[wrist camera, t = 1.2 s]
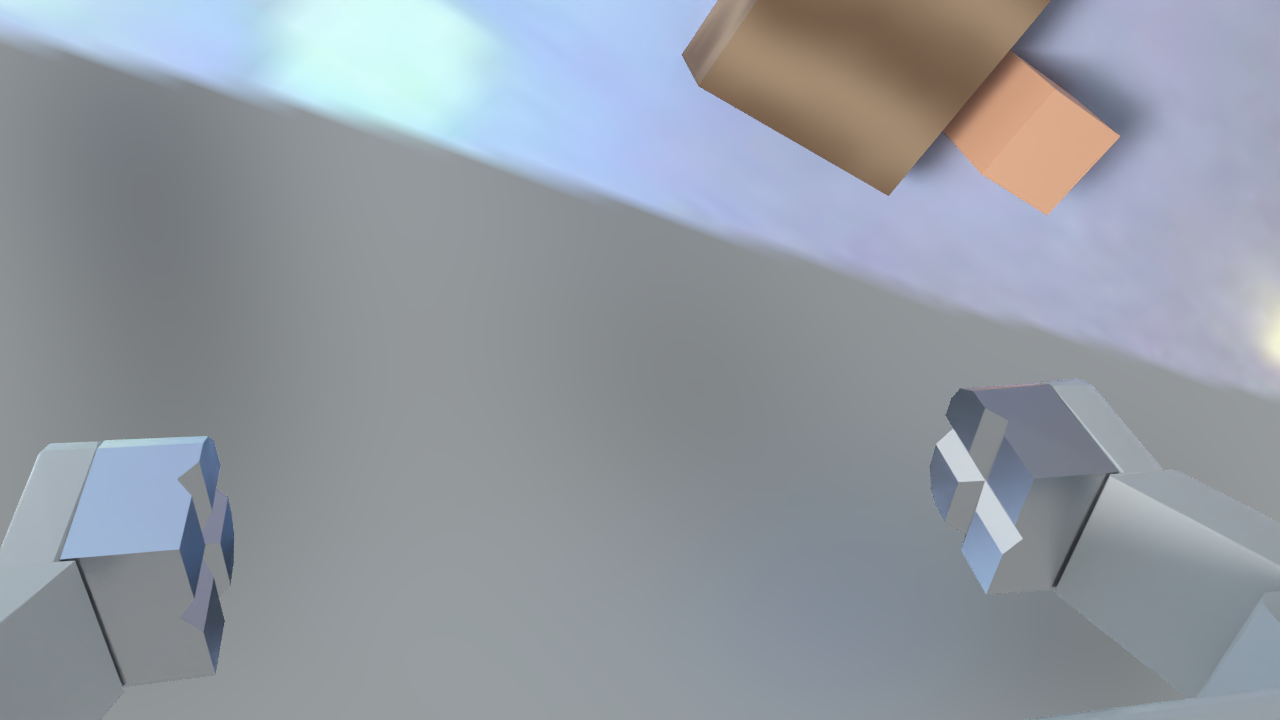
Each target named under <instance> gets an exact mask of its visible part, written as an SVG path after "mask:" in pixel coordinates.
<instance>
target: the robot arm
mask: <svg viewBox="0 0 1280 720" xmlns="http://www.w3.org/2000/svg"><path fill="white" fill-rule="evenodd" d="M946 417H947V419H948V421H949V422H950V424H951V426H952V428H953V429H952V430H951V431H950V432H949V433H948V434H947V435H946V436H945V437H943V438H942V439H941V440H940V441H939V442H938V443H937V444H936V446H935V450H934V453H933V457H932V460H931V464H930V480H931V491H932V494H933V497H934V501H935V504H936V507H937V508H938V510H939V512H940V514H941V516H942V518H943V519H944V521H945V522H946V523H947V524H949V525H950V526H952V527H953V528H955V529H956V530H958V531H960V532H961V533H963V534H964V535H965V538H964V541H963V545H962V549H961V552H962V553H963V555H964V557H965V559H966V560H967V562H968V564H969V566H970V567H971V569H972V571H973V573H974V574H975V576H976V578H977V580H978V581H979V583H980V585H981V587H982V588H983V590H984V592H985V593H986V595H989V594H1001V593H1015V592H1028V591H1041V590H1053V589H1056V590H1055V592H1054V593H1055V594H1056V595H1057V596H1059V597H1060V598H1061V599H1062V600H1064V601H1065V602H1066V603H1067V604H1069V605H1070V606H1071V607H1073V608H1074V609H1075V610H1076V611H1078V612H1079V613H1080V614H1081V615H1083V616H1084V617H1085V618H1087V619H1088V620H1089V621H1090V622H1092V623H1093V624H1094V625H1095V626H1097V627H1098V628H1099V629H1101V630H1102V631H1103V632H1104V633H1106V634H1107V635H1108V636H1110V637H1111V638H1112V639H1113V640H1115V641H1116V642H1117V643H1119V644H1120V645H1121V646H1122V647H1124V648H1125V649H1126V650H1127V651H1129V652H1130V653H1131V654H1132V655H1134V656H1135V657H1136V658H1138V659H1139V660H1140V661H1142V662H1143V663H1144V664H1145V665H1146V666H1148V667H1149V668H1150V669H1151V670H1153V671H1154V672H1156V673H1157V674H1158V675H1159V676H1160V677H1162V678H1163V679H1164V680H1165V681H1167V682H1168V683H1169V684H1171V685H1172V686H1173V687H1175V688H1176V689H1177V690H1178V691H1179V692H1181V693H1182V694H1183V695H1185V696H1186V697H1187V698H1188V699H1180V700H1172V701H1164V702H1157V703H1149V704H1142V705H1134V706H1126V707H1119V708H1110V709H1103V710H1095V711H1087V712H1080V713H1073V714H1065V715H1057V716H1049V717H1041V718H1035V719H1026V720H1280V523H1279V522H1277V521H1275V520H1273V519H1271V518H1269V517H1267V516H1265V515H1263V514H1261V513H1259V512H1257V511H1255V510H1253V509H1252V508H1250V507H1248V506H1246V505H1244V504H1242V503H1240V502H1238V501H1236V500H1234V499H1232V498H1230V497H1228V496H1227V495H1225V494H1223V493H1221V492H1219V491H1217V490H1215V489H1213V488H1211V487H1209V486H1207V485H1205V484H1203V483H1201V482H1199V481H1197V480H1196V479H1194V478H1192V477H1189V476H1188V475H1186V474H1184V473H1182V472H1180V471H1178V470H1176V469H1172V470H1163V469H1162V467H1161V466H1160V465H1159V464H1158V463H1157V462H1156V460H1155V459H1154V458H1153V457H1152V456H1151V455H1150V453H1149V452H1148V451H1147V450H1146V449H1145V447H1144V446H1143V445H1142V444H1141V443H1140V442H1139V440H1138V439H1137V438H1136V437H1135V435H1134V434H1133V433H1132V432H1131V431H1130V429H1129V428H1128V427H1127V426H1126V425H1125V424H1124V422H1123V421H1122V420H1121V419H1120V418H1119V416H1118V415H1117V414H1116V413H1115V412H1114V411H1113V409H1112V408H1111V407H1110V406H1109V405H1108V403H1107V402H1106V401H1105V400H1104V399H1103V398H1102V396H1101V395H1100V394H1099V393H1098V392H1097V390H1096V389H1095V388H1094V387H1093V386H1092V385H1091V384H1090V383H1088V382H1086V381H1084V380H1082V379H1069V380H1057V381H1046V382H1039V383H1030V384H1015V385H1001V386H987V387H973V388H960V389H959V390H958V391H957V392H956V394H955V395H954V396H953V397H952V398H951V401H950V404H949V407H948V409H947V412H946ZM219 470H220V462H219V458H218V454H217V450H216V447H215V443H214V441H213V440H212V439H211V438H210V437H209V436H198V437H176V438H175V437H174V438H151V439H127V440H105V441H104V442H79V443H78V442H77V443H54V444H49V445H48V446H47V447H46V448H44V449H43V450H42V451H41V452H40V453H39V455H38V457H37V459H36V462H35V464H34V467H33V469H32V472H31V474H30V477H29V479H28V482H27V484H26V487H25V489H24V491H23V494H22V496H21V499H20V501H19V504H18V506H17V509H16V511H15V514H14V516H13V519H12V521H11V524H10V526H9V528H8V531H7V533H6V536H5V539H4V541H3V543H2V546H1V548H0V720H101V719H102V718H103V717H104V716H105V715H106V713H107V712H108V711H109V710H110V708H111V707H112V706H113V705H114V704H115V703H116V701H117V700H118V699H119V698H120V697H121V695H122V694H123V693H124V689H123V687H128V686H136V685H144V684H152V683H159V682H167V681H175V680H182V679H190V678H198V677H205V676H213V675H216V669H217V664H218V658H219V651H220V646H221V640H222V634H223V628H224V622H225V620H224V616H223V612H222V608H221V604H220V600H219V597H220V596H221V595H222V594H223V593H224V591H226V590H227V589H228V588H229V586H230V585H231V578H232V572H233V565H234V529H233V521H232V513H231V509H230V504H229V499H228V496H226V495H225V494H224V493H222V492H221V491H219V490H218V489H217V488H216V486H217V481H218V476H219Z"/></svg>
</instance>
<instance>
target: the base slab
mask: <svg viewBox="0 0 1280 720" xmlns="http://www.w3.org/2000/svg"><path fill="white" fill-rule="evenodd" d="M1050 1H1051V0H718V1H717V3H716V4H715V6H714V7H713V9H712V10H711V12H710V13H709V15H708V16H707V18H706V19H705V21H704V22H703V24H702V25H701V27H700V28H699V30H698V31H697V33H696V34H695V36H694V37H693V39H692V40H691V42H690V43H689V45H688V46H687V48H686V49H685V51H684V52H683V54H682V56H683V58H684V60H685V62H686V64H687V65H688V67H689V69H690V71H691V73H692V75H693V77H694V79H695V81H696V82H697V84H698V86H699V87H701V88H703V89H704V90H706V91H708V92H710V93H711V94H713V95H715V96H717V97H718V98H720V99H722V100H723V101H725V102H727V103H729V104H730V105H732V106H734V107H736V108H737V109H739V110H741V111H742V112H744V113H746V114H748V115H749V116H751V117H753V118H755V119H756V120H758V121H760V122H761V123H763V124H765V125H767V126H768V127H770V128H772V129H774V130H775V131H777V132H779V133H781V134H782V135H784V136H786V137H787V138H789V139H791V140H793V141H794V142H796V143H798V144H800V145H801V146H803V147H805V148H806V149H808V150H810V151H812V152H813V153H815V154H817V155H819V156H820V157H822V158H824V159H826V160H827V161H829V162H831V163H832V164H834V165H836V166H838V167H839V168H841V169H843V170H845V171H846V172H848V173H850V174H851V175H853V176H855V177H857V178H858V179H860V180H862V181H864V182H865V183H867V184H869V185H871V186H872V187H874V188H876V189H877V190H879V191H881V192H883V193H884V194H886V195H888V196H889V195H890V194H891V192H892V191H893V190H894V189H895V188H896V186H897V185H898V184H899V183H900V181H901V180H902V179H903V178H904V177H905V175H906V174H907V173H908V172H909V171H910V169H911V168H912V167H913V166H914V165H915V163H916V162H917V161H918V160H919V159H920V157H921V156H922V155H923V154H924V153H925V151H926V150H927V149H928V148H929V147H930V145H931V144H932V143H933V142H934V141H935V139H936V138H937V137H938V136H939V135H940V133H941V132H942V131H943V130H944V129H945V127H946V126H947V125H948V124H949V123H950V121H951V120H952V119H953V118H954V117H955V115H956V114H957V113H958V112H959V111H960V109H961V108H962V107H963V106H964V105H965V103H966V102H967V101H968V100H969V99H970V97H971V96H972V95H973V94H974V93H975V91H976V90H977V89H978V88H979V87H980V85H981V84H982V83H983V82H984V81H985V79H986V78H987V77H988V76H989V75H990V73H991V72H992V71H993V70H994V69H995V67H996V66H997V65H998V64H999V63H1000V61H1001V60H1002V59H1003V58H1004V56H1005V55H1006V54H1007V53H1008V52H1009V50H1010V49H1011V48H1012V47H1013V46H1014V44H1015V43H1016V42H1017V41H1018V40H1019V38H1020V37H1021V36H1022V35H1023V34H1024V32H1025V31H1026V30H1027V29H1028V28H1029V26H1030V25H1031V24H1032V23H1033V22H1034V20H1035V19H1036V18H1037V17H1038V16H1039V14H1040V13H1041V12H1042V11H1043V10H1044V8H1045V7H1046V6H1047V5H1048V4H1049V2H1050Z"/></svg>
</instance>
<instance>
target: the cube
mask: <svg viewBox="0 0 1280 720" xmlns="http://www.w3.org/2000/svg"><path fill="white" fill-rule="evenodd" d="M943 132H944V133H945V134H946V135H947V136H948V137H949V139H950V140H951V141H952V142H953V143H954V144H955V145H956V146H957V147H958V148H959V150H960V151H961V152H962V153H963V154H964V155H965V156H966V157H967V158H968V160H969V161H970V162H971V163H972V164H973V165H974V166H975V167H976V168H977V170H978V171H979V172H980V173H981V174H982V175H984V176H985V177H987V178H988V179H990V180H992V181H993V182H995V183H996V184H998V185H1000V186H1001V187H1003V188H1004V189H1006V190H1008V191H1009V192H1011V193H1012V194H1014V195H1015V196H1017V197H1019V198H1020V199H1022V200H1023V201H1025V202H1027V203H1028V204H1030V205H1031V206H1033V207H1034V208H1036V209H1038V210H1039V211H1041V212H1042V213H1044V214H1046V215H1048V214H1049V213H1050V212H1051V211H1052V209H1053V208H1054V207H1055V206H1056V205H1057V204H1058V203H1059V202H1060V201H1061V200H1062V199H1063V198H1064V197H1065V195H1066V194H1067V193H1068V192H1069V191H1070V190H1071V189H1072V188H1073V187H1074V186H1075V185H1076V184H1077V183H1078V181H1079V180H1080V179H1081V178H1082V177H1083V176H1084V175H1085V174H1086V173H1087V172H1088V171H1089V170H1090V169H1091V168H1092V166H1093V165H1094V164H1095V163H1096V162H1097V161H1098V160H1099V159H1100V158H1101V157H1102V156H1103V155H1104V154H1105V152H1106V151H1107V150H1108V149H1109V148H1110V147H1111V146H1112V145H1113V144H1114V143H1115V142H1116V141H1117V140H1118V139H1119V137H1120V135H1118V134H1117V133H1116V132H1115V131H1114V130H1112V129H1111V128H1110V127H1109V126H1108V125H1107V124H1105V123H1104V122H1103V121H1102V120H1101V119H1099V118H1098V117H1097V116H1096V115H1095V114H1093V113H1092V112H1091V111H1090V110H1089V109H1088V108H1086V107H1085V106H1084V105H1083V104H1082V103H1080V102H1079V101H1078V100H1077V99H1076V98H1075V97H1073V96H1072V95H1071V94H1070V93H1068V92H1067V91H1066V90H1064V89H1063V88H1061V87H1060V86H1059V85H1057V84H1056V83H1055V82H1053V81H1052V80H1050V79H1049V78H1048V77H1046V76H1045V75H1044V74H1042V73H1041V72H1039V71H1038V70H1037V69H1035V68H1034V67H1033V66H1031V65H1030V64H1028V63H1027V62H1026V61H1024V60H1023V59H1022V58H1020V57H1019V56H1017V55H1016V54H1015V53H1013V52H1012V51H1011V50H1009V52H1008V53H1007V54H1006V55H1005V56H1004V58H1003V59H1002V60H1001V61H1000V63H999V64H998V65H997V66H996V67H995V69H994V70H993V71H992V72H991V73H990V75H989V76H988V77H987V78H986V79H985V81H984V82H983V83H982V84H981V85H980V87H979V88H978V89H977V90H976V91H975V93H974V94H973V95H972V96H971V97H970V99H969V100H968V101H967V102H966V103H965V105H964V106H963V107H962V108H961V109H960V111H959V112H958V113H957V114H956V115H955V117H954V118H953V119H952V120H951V121H950V123H949V124H948V125H947V126H946V127H945V129H944V130H943Z"/></svg>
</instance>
